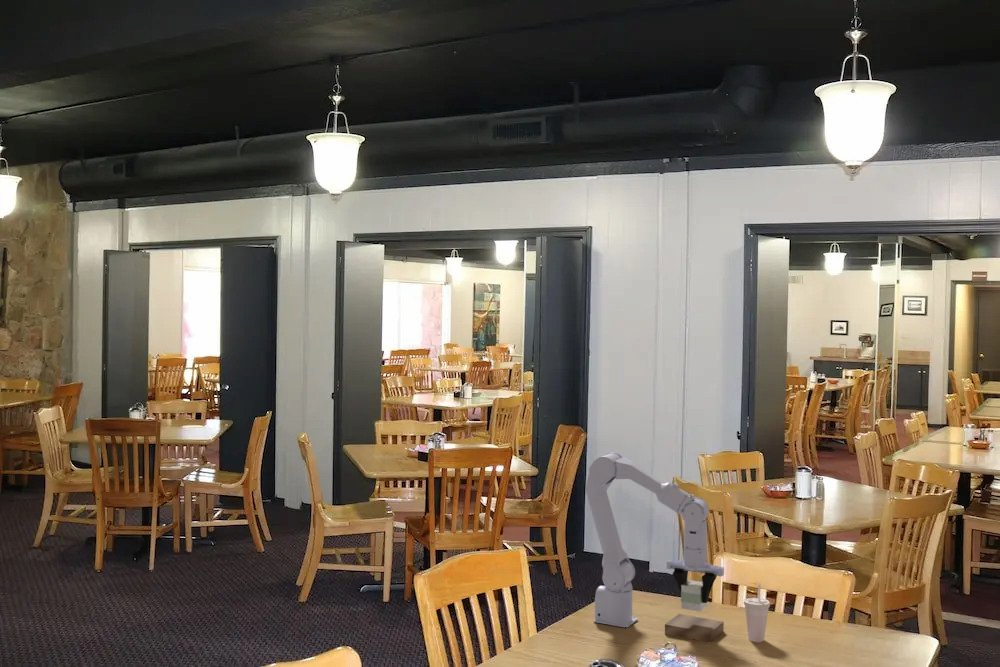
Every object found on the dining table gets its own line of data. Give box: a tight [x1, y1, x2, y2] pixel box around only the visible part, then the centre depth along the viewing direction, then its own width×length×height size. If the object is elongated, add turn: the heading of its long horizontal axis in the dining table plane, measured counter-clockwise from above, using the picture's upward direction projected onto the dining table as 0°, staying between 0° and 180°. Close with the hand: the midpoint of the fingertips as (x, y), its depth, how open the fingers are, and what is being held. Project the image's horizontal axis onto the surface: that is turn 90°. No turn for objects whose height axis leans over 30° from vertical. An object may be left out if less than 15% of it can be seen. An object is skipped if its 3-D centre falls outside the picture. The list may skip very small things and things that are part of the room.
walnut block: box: [664, 613, 725, 643], centre depth 247 cm, size 12×10×3 cm
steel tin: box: [680, 579, 708, 613], centre depth 246 cm, size 5×5×6 cm
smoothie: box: [743, 583, 771, 643], centre depth 242 cm, size 6×6×14 cm
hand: (694, 600), depth 247 cm, fingers closed on steel tin, 5 cm apart
